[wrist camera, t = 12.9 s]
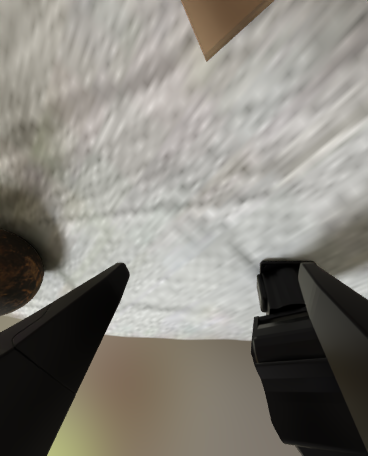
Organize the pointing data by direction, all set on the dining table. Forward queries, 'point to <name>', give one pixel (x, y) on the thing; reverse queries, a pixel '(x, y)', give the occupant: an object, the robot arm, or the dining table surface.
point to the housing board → (220, 20)
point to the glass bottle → (18, 272)
